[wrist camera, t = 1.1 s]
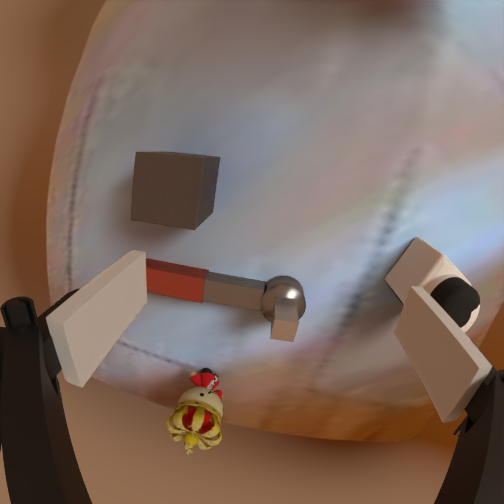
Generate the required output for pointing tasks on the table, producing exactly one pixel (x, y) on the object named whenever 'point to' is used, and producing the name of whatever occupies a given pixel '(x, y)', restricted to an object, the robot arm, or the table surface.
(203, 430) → the toy
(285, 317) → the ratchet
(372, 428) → the table surface
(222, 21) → the table surface
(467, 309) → the medicine bottle
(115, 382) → the table surface
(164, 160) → the dark wooden cube
